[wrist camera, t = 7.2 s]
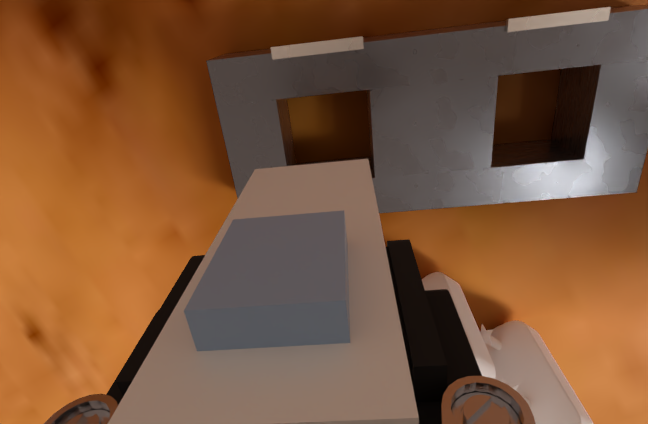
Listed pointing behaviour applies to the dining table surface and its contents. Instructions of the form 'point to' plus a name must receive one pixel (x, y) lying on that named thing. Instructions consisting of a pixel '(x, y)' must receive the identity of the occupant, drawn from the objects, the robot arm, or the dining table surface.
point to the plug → (284, 314)
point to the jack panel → (457, 107)
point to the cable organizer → (517, 361)
